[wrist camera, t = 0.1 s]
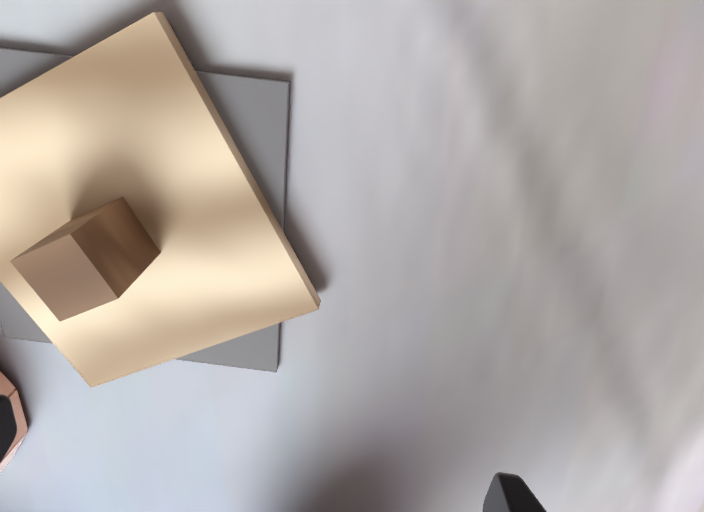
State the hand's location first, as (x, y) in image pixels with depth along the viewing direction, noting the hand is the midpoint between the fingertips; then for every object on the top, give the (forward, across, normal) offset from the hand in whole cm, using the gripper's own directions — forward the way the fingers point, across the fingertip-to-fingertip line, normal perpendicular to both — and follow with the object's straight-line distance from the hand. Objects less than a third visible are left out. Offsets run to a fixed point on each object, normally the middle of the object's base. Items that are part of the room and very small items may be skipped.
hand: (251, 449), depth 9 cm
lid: (+14, +10, +4) cm, 17 cm away
